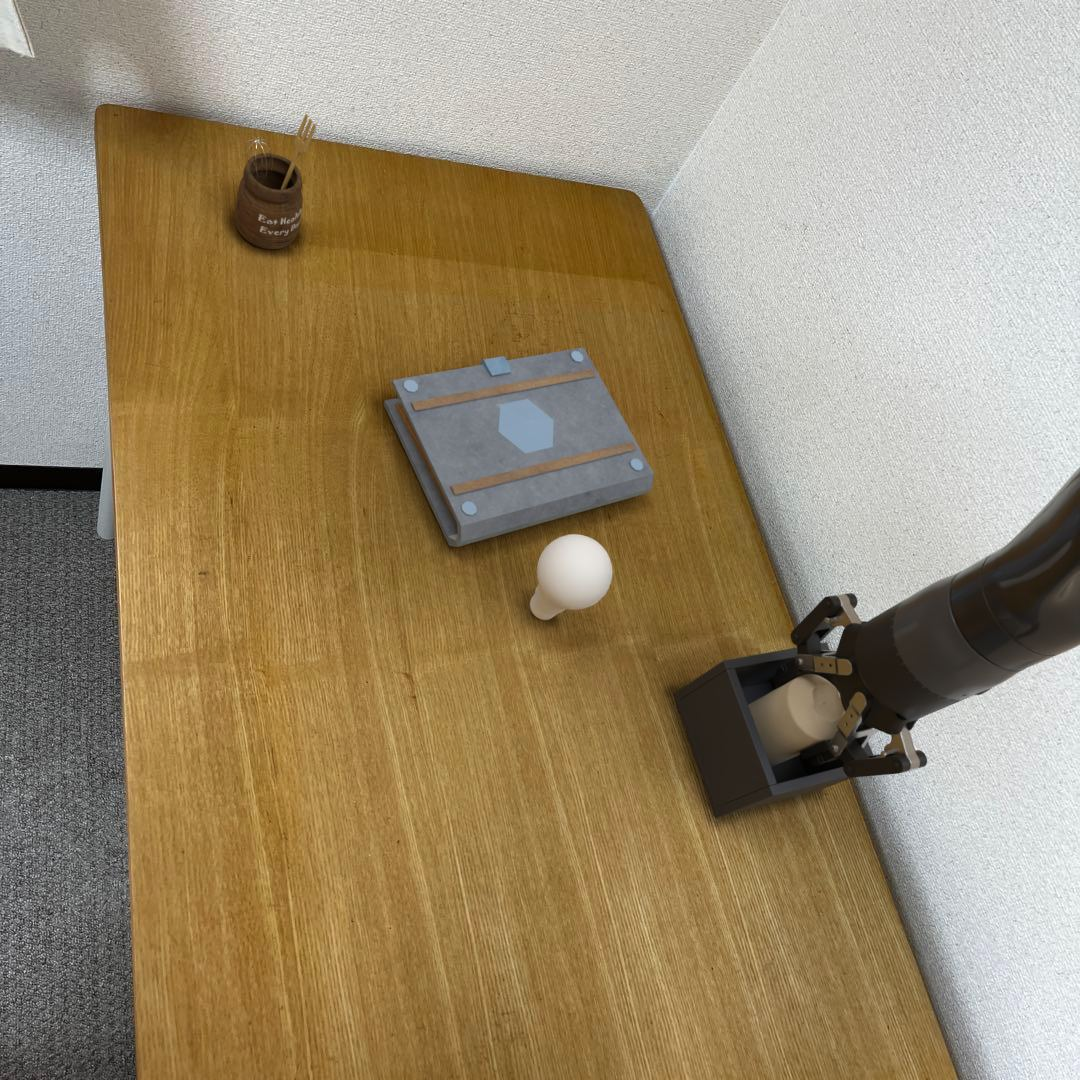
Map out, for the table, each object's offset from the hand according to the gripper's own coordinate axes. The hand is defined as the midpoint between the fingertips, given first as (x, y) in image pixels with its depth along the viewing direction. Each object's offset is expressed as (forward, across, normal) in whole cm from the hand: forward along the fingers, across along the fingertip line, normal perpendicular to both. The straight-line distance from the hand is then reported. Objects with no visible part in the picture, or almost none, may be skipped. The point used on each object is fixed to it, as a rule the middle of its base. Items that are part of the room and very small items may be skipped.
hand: (795, 718), depth 74 cm
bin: (+8, 0, 0) cm, 8 cm away
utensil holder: (+8, -58, -33) cm, 67 cm away
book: (+8, -31, -14) cm, 35 cm away
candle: (+6, 0, 0) cm, 6 cm away
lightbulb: (+8, -15, -16) cm, 23 cm away
